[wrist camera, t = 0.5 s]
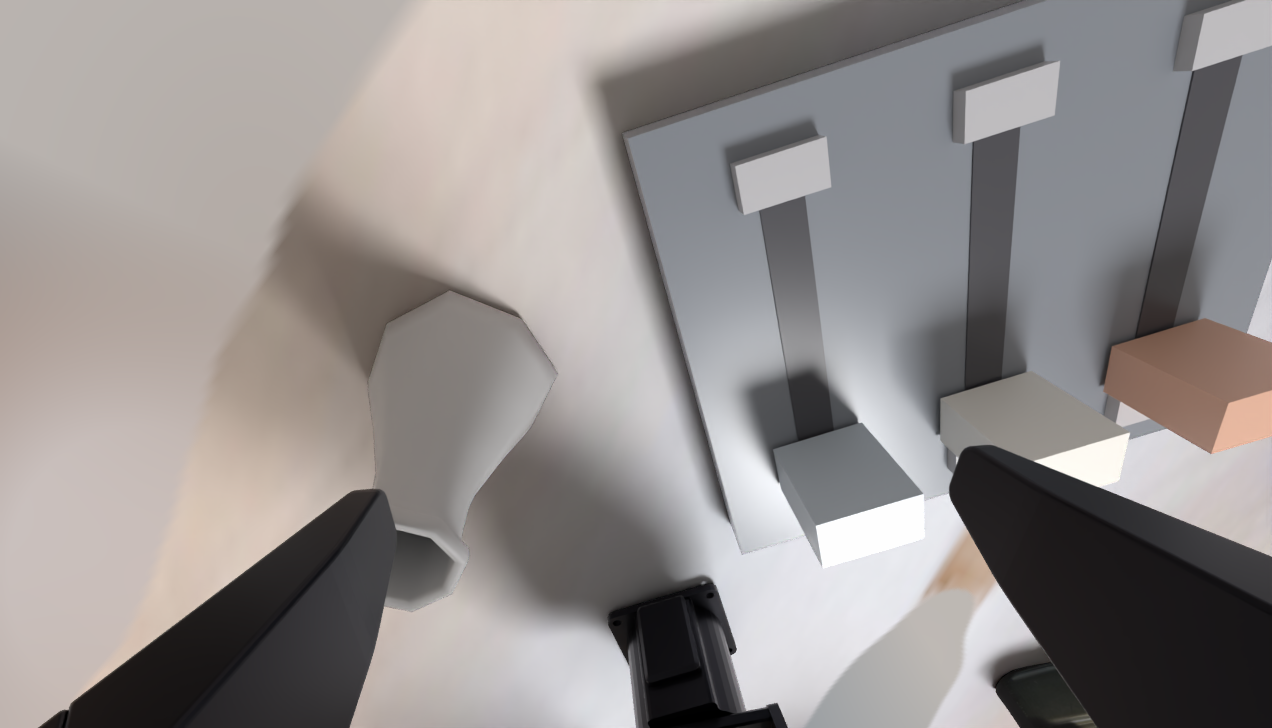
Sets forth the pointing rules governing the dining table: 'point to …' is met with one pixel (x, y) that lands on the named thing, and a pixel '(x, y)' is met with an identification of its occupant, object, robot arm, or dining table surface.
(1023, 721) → the dark green block
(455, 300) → the flask
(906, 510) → the grey small block
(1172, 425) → the salmon pink cuboid
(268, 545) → the dining table surface
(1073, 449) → the ivory cuboid
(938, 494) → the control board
